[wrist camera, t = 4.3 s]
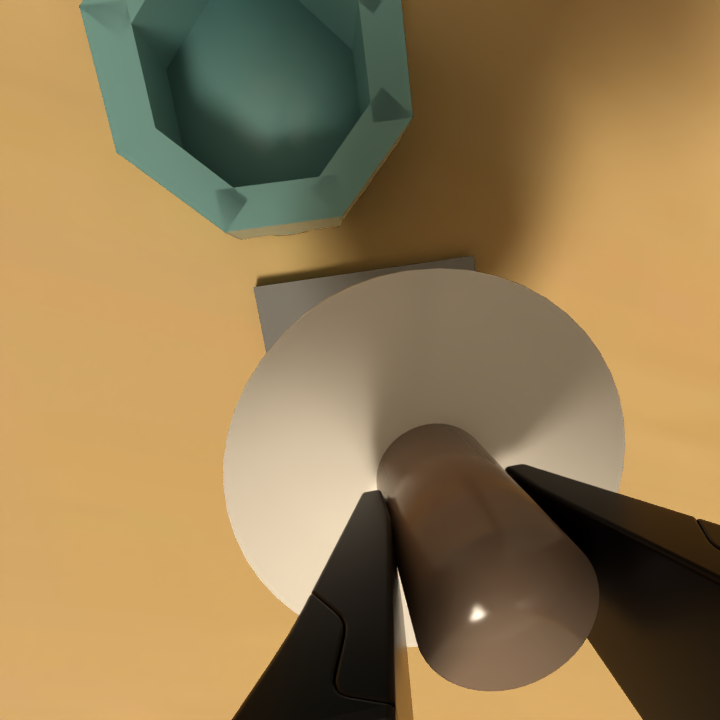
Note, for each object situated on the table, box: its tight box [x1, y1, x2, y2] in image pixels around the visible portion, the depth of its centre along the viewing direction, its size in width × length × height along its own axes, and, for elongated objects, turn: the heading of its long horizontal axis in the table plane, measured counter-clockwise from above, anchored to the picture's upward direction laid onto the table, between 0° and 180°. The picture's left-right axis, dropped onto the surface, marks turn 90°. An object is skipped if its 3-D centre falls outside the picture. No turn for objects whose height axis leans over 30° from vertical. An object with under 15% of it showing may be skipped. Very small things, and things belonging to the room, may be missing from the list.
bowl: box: [79, 0, 413, 240], centre depth 15 cm, size 10×10×4 cm
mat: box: [254, 256, 475, 353], centre depth 19 cm, size 10×10×1 cm
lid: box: [223, 268, 625, 691], centre depth 8 cm, size 10×10×5 cm
